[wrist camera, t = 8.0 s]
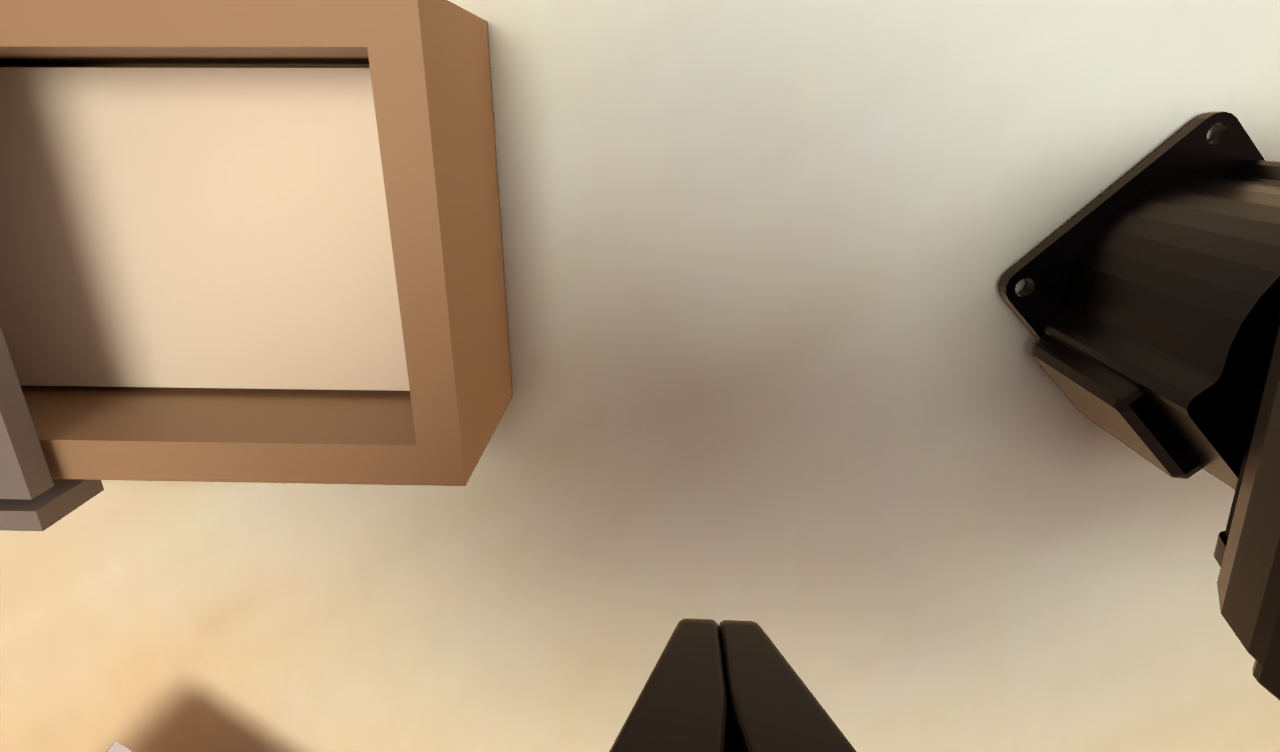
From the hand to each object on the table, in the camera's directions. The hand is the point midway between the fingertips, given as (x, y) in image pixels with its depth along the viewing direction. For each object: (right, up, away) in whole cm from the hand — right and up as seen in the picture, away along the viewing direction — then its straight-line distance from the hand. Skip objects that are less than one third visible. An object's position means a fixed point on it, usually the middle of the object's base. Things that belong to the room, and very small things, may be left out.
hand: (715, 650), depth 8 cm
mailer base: (-12, +7, +11) cm, 18 cm away
